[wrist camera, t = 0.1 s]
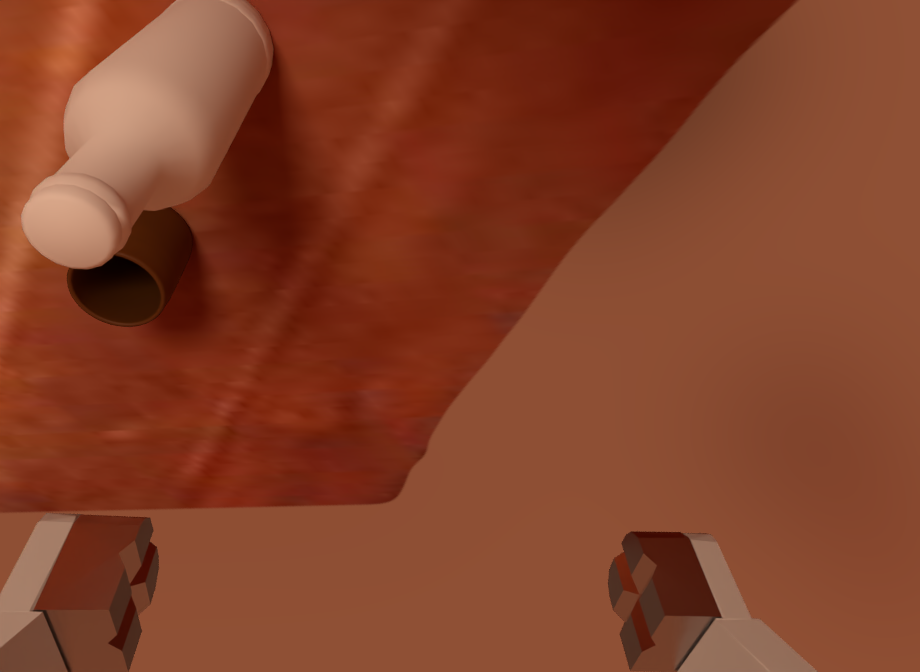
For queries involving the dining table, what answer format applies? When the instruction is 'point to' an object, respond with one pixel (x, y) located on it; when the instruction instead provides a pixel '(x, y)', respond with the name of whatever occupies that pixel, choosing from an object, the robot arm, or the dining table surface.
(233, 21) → the bottle
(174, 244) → the mug
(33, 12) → the dining table surface
